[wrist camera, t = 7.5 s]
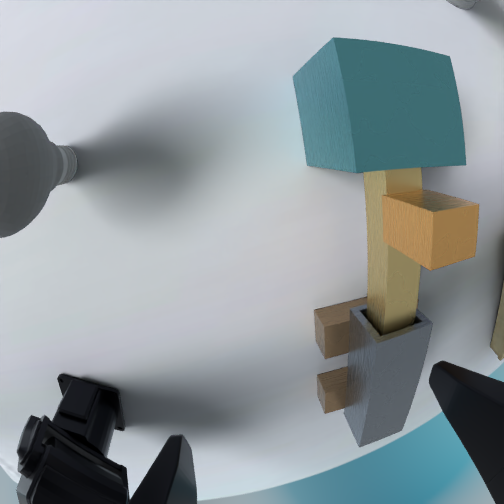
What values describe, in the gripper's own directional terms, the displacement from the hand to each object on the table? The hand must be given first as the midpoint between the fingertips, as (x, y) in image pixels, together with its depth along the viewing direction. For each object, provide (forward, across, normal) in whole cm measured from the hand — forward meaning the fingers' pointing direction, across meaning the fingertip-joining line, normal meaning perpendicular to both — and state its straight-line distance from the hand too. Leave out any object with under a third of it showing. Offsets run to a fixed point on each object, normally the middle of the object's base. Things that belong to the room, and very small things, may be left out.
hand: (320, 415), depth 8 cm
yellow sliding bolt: (+9, -7, 0) cm, 12 cm away
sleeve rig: (+12, -8, +1) cm, 14 cm away
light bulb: (+13, +12, -10) cm, 20 cm away
